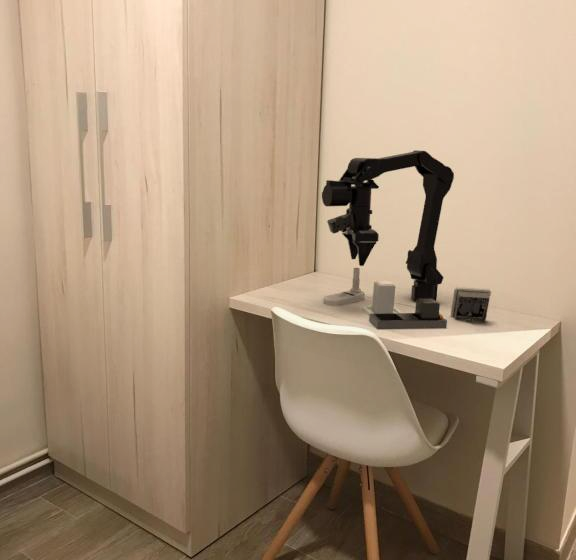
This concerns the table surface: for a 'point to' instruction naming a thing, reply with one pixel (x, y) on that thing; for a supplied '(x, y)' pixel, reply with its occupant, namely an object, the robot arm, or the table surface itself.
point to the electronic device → (347, 293)
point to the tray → (369, 310)
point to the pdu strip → (411, 317)
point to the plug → (383, 297)
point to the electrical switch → (470, 304)
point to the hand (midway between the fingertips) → (357, 262)
